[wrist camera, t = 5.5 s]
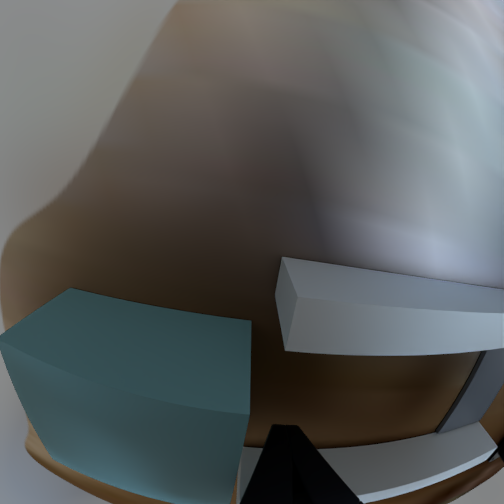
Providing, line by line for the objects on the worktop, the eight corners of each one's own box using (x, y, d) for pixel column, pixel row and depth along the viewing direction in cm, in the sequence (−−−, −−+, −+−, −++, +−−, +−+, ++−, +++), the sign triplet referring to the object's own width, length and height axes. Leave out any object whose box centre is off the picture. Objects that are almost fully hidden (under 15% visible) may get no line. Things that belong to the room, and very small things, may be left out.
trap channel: (538, 294, 8) (572, 313, 6) (467, 432, 11) (486, 459, 8) (281, 256, 8) (297, 296, 5) (238, 459, 10) (236, 510, 7)
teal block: (251, 320, 8) (249, 414, 5) (233, 431, 10) (228, 511, 6) (70, 287, 8) (-4, 337, 4) (91, 398, 10) (52, 459, 6)
